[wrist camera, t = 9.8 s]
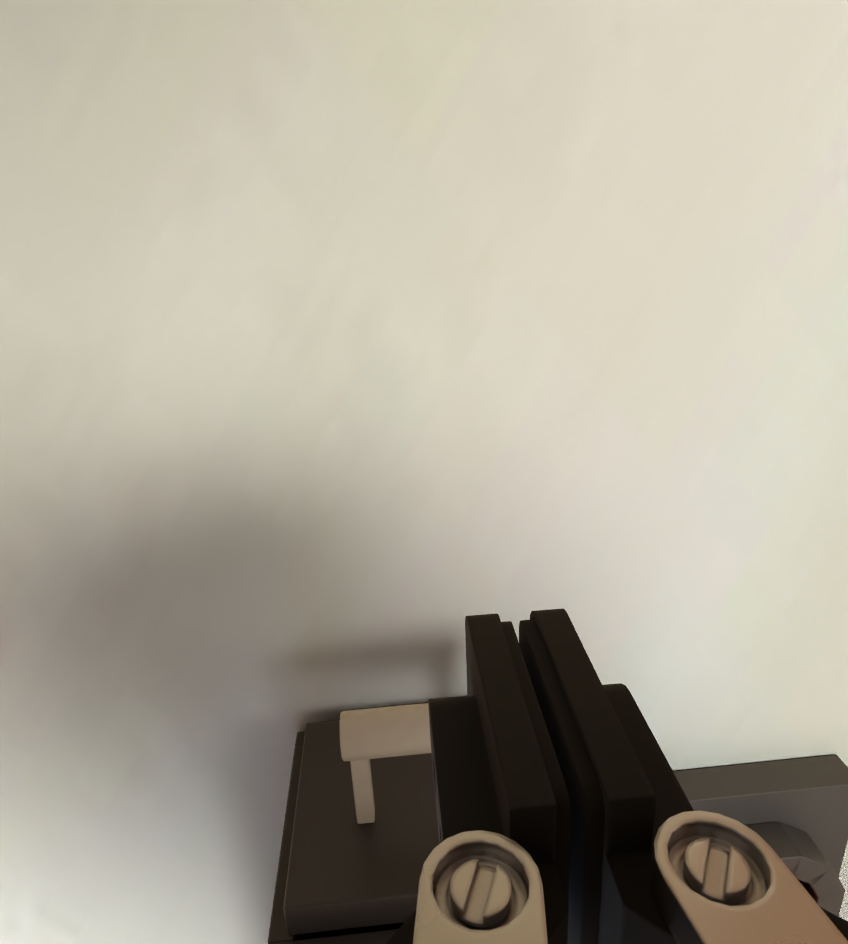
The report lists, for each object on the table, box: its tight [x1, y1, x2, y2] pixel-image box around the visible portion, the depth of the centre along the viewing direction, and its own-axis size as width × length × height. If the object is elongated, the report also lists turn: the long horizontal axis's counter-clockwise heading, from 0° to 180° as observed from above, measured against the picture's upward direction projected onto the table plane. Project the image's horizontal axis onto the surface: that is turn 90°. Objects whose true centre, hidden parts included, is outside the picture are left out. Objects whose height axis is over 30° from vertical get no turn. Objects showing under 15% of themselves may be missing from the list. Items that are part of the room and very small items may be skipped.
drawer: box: [283, 703, 439, 938], centre depth 25 cm, size 18×11×8 cm, turn 3°
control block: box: [673, 755, 848, 916], centre depth 31 cm, size 9×10×4 cm
